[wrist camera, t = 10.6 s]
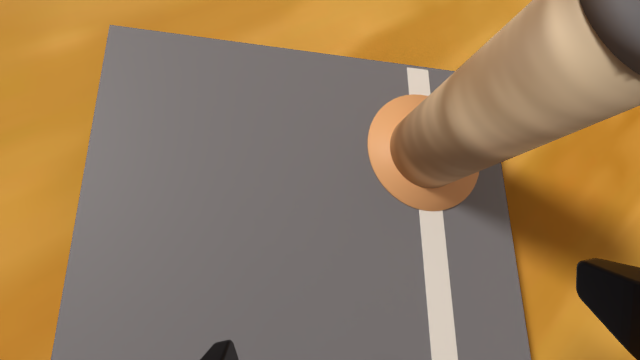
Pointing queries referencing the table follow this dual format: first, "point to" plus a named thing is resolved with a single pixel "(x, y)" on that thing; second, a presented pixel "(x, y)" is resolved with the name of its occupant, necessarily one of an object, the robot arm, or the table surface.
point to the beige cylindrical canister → (525, 89)
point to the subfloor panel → (276, 215)
